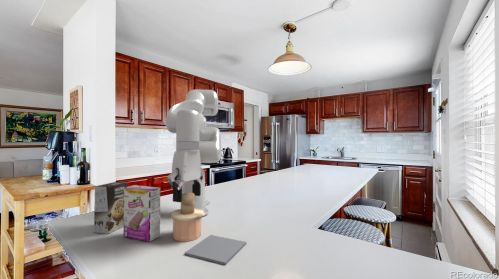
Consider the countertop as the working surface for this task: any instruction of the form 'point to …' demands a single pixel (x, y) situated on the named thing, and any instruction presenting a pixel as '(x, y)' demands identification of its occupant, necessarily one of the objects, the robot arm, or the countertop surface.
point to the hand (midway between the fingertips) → (187, 198)
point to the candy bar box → (142, 212)
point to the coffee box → (109, 207)
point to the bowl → (187, 230)
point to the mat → (216, 249)
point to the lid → (187, 209)
